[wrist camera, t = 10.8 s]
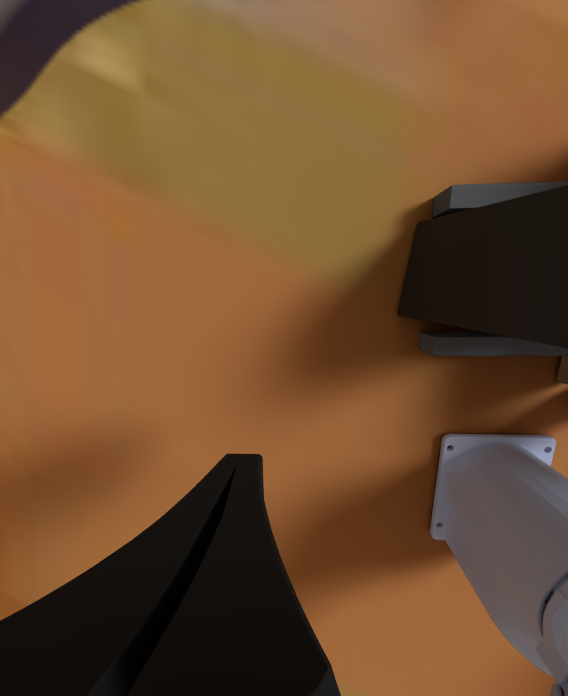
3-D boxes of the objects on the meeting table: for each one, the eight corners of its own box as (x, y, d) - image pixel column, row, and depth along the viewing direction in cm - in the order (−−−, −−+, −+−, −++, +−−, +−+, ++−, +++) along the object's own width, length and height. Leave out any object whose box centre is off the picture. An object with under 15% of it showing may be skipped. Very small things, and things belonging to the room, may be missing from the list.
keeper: (550, 348, 18) (580, 355, 16) (418, 348, 19) (432, 355, 17) (583, 192, 16) (622, 179, 14) (434, 197, 17) (452, 184, 15)
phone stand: (394, 314, 18) (563, 357, 7) (415, 223, 17) (673, 78, 5) (523, 332, 18) (924, 409, 7) (554, 241, 17) (1128, 136, 5)
